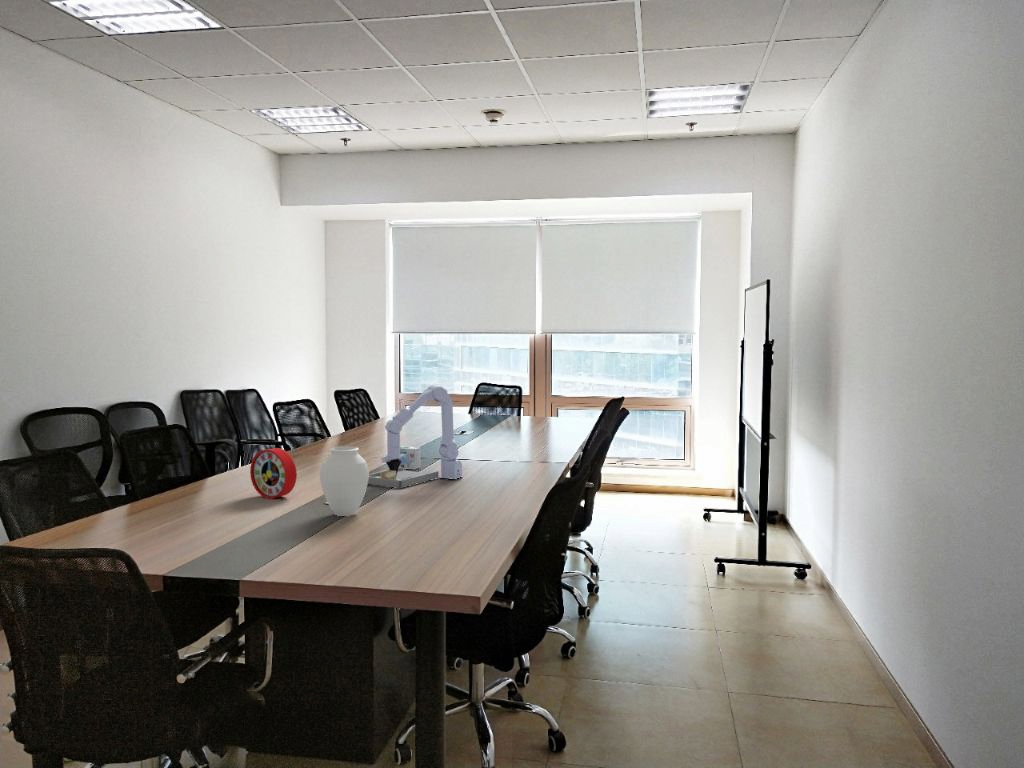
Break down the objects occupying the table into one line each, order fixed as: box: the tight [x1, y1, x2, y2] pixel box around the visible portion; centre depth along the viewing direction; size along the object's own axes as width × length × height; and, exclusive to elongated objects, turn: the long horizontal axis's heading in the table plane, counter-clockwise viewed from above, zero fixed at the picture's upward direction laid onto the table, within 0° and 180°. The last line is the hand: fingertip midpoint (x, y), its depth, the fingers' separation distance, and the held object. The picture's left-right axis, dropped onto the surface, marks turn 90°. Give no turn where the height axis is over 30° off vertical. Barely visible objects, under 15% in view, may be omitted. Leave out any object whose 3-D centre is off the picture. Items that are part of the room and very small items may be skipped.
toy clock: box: [249, 447, 297, 499], centre depth 316 cm, size 20×6×20 cm, turn 62°
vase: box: [319, 445, 370, 517], centre depth 286 cm, size 18×18×25 cm
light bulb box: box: [399, 445, 421, 469], centre depth 385 cm, size 11×7×11 cm, turn 73°
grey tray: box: [367, 467, 439, 489], centre depth 352 cm, size 22×28×4 cm
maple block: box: [379, 469, 396, 480], centre depth 345 cm, size 5×5×4 cm
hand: (393, 476), depth 348 cm, fingers closed
